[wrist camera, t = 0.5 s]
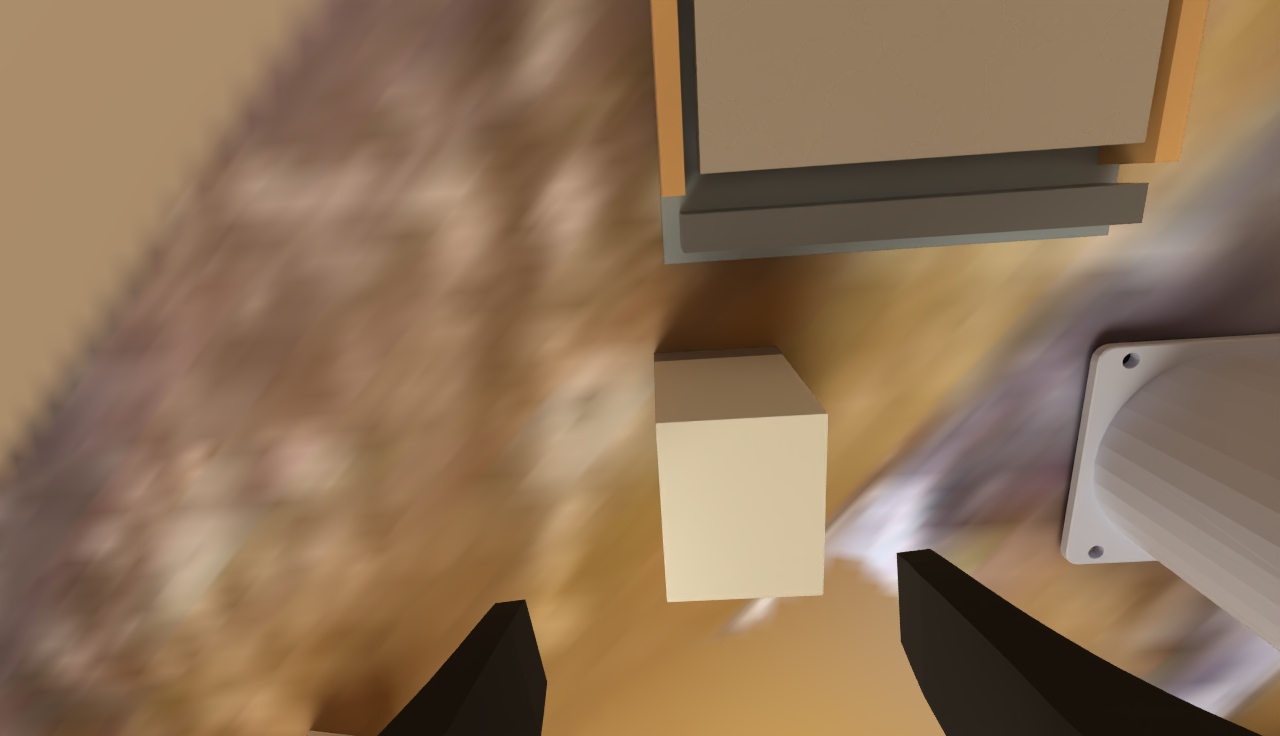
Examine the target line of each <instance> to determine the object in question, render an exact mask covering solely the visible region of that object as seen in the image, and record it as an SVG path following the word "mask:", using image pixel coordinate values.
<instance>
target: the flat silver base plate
mask: <svg viewBox="0 0 1280 736" xmlns="http://www.w3.org/2000/svg"><path fill="white" fill-rule="evenodd" d="M1168 5H1169V0H691V12H692V39H693V66H694V93H695V119H696V146H697V173H698V174H710V173H724V172H738V171H752V170H766V169H780V168H794V167H809V166H823V165H837V164H851V163H865V162H879V161H893V160H907V159H921V158H935V157H949V156H964V155H978V154H992V153H1006V152H1020V151H1034V150H1048V149H1062V148H1076V147H1090V146H1104V145H1118V144H1131V143H1143V142H1145V139H1146V134H1147V128H1148V122H1149V116H1150V110H1151V104H1152V99H1153V93H1154V87H1155V81H1156V75H1157V69H1158V63H1159V58H1160V52H1161V46H1162V40H1163V34H1164V28H1165V23H1166V17H1167V11H1168Z"/></svg>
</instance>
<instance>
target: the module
mask: <svg viewBox="0 0 1280 736" xmlns="http://www.w3.org/2000/svg"><path fill="white" fill-rule="evenodd" d="M654 374H655V416H656V436H657V452H658V467H659V483H660V498H661V514H662V529H663V545H664V560H665V576H666V591H667V602H680V601H702V600H723V599H745V598H767V597H789V596H809V595H823V576H824V540H825V504H826V468H827V432H828V413H827V412H826V410H825V409H824V408H823V406H822V405H821V404H820V403H819V401H818V400H817V399H816V397H815V396H814V395H813V393H812V392H811V391H810V390H809V388H808V387H807V386H806V384H805V383H804V382H803V380H802V379H801V378H800V377H799V375H798V374H797V373H796V371H795V370H794V369H793V367H792V366H791V365H790V363H789V362H788V361H787V360H786V358H785V357H784V356H783V354H782V353H781V352H780V350H779V349H778V348H777V347H776V346H768V347H751V348H735V349H718V350H702V351H685V352H668V353H654Z"/></svg>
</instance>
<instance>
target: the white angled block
mask: <svg viewBox="0 0 1280 736" xmlns="http://www.w3.org/2000/svg"><path fill="white" fill-rule="evenodd" d="M307 736H353V735H344V734H335V733H327V732H318V731H309V732H308V734H307Z"/></svg>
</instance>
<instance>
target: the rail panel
mask: <svg viewBox="0 0 1280 736" xmlns="http://www.w3.org/2000/svg"><path fill="white" fill-rule="evenodd" d="M1208 5H1209V0H1169V5H1168V11H1167V17H1166V23H1165V28H1164V34H1163V40H1162V46H1161V52H1160V58H1159V63H1158V69H1157V75H1156V81H1155V87H1154V93H1153V99H1152V104H1151V110H1150V116H1149V122H1148V128H1147V134H1146V139H1145V142H1143V143H1131V144H1118V145H1104V146H1090V147H1076V148H1062V149H1048V150H1034V151H1020V152H1006V153H992V154H978V155H964V156H949V157H935V158H921V159H907V160H893V161H879V162H865V163H851V164H837V165H823V166H809V167H794V168H780V169H766V170H752V171H738V172H724V173H710V174H698V173H697V146H696V119H695V93H694V66H693V39H692V12H691V0H650V13H651V32H652V50H653V68H654V86H655V104H656V122H657V140H658V159H659V177H660V195H661V213H662V231H663V249H664V263H665V264H678V263H693V262H708V261H723V260H738V259H754V258H769V257H784V256H799V255H814V254H830V253H845V252H860V251H875V250H890V249H906V248H921V247H936V246H951V245H967V244H982V243H997V242H1012V241H1027V240H1043V239H1058V238H1073V237H1088V236H1103V235H1108V231H1109V225H1117V224H1132V223H1142V218H1143V212H1144V207H1145V201H1146V195H1147V190H1148V184H1149V183H1116V182H1117V175H1118V169H1119V164H1131V163H1156V162H1170V161H1179V159H1180V154H1181V148H1182V143H1183V138H1184V132H1185V127H1186V122H1187V117H1188V111H1189V106H1190V101H1191V95H1192V90H1193V85H1194V79H1195V74H1196V69H1197V64H1198V58H1199V53H1200V48H1201V42H1202V37H1203V32H1204V26H1205V21H1206V16H1207V10H1208Z"/></svg>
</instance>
